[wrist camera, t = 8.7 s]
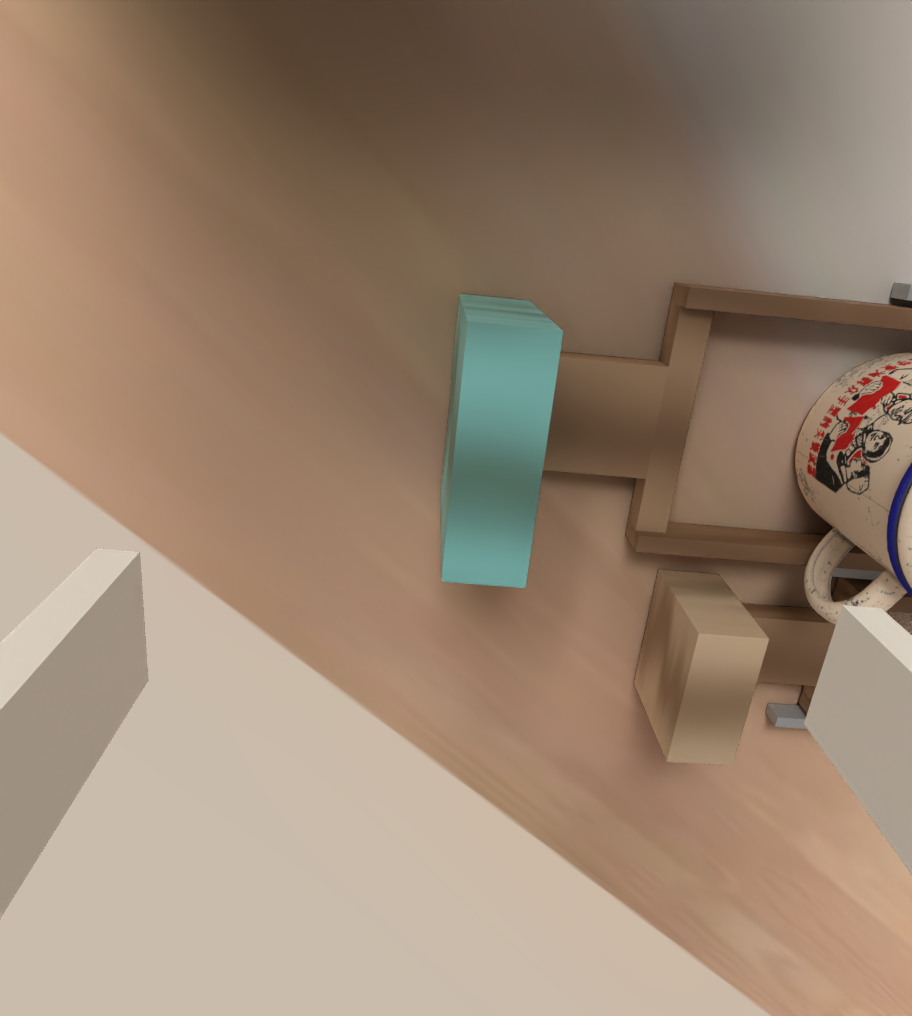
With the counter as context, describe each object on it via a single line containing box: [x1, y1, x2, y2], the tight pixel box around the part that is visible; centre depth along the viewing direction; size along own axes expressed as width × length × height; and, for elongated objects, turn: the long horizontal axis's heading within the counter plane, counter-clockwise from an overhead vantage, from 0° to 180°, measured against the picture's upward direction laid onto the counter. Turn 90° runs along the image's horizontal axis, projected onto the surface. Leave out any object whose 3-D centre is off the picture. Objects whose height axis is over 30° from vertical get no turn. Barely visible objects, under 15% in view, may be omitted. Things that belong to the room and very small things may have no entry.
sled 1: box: [440, 283, 912, 588], centre depth 30 cm, size 12×26×9 cm, turn 84°
